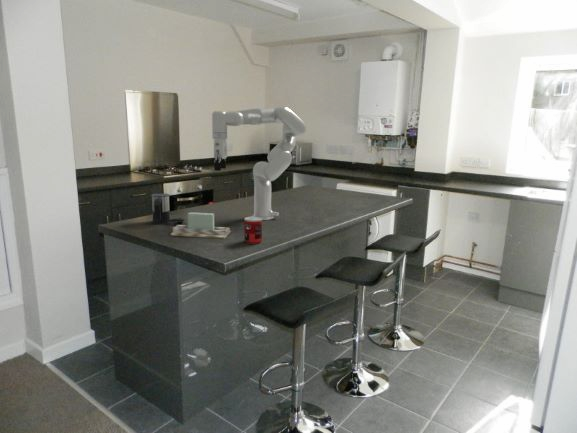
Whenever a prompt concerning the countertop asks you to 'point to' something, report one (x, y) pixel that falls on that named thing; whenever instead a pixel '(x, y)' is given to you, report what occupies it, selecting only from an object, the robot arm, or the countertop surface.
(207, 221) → the door panel
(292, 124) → the robot arm
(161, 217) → the milk frother
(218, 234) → the door track
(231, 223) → the countertop surface
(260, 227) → the canned food
